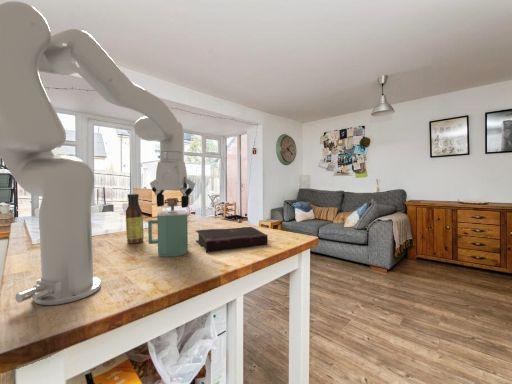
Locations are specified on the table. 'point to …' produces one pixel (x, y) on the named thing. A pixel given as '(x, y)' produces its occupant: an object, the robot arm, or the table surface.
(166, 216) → the press carafe
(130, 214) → the sauce bottle
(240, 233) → the diary
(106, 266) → the table surface
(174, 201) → the plunger
